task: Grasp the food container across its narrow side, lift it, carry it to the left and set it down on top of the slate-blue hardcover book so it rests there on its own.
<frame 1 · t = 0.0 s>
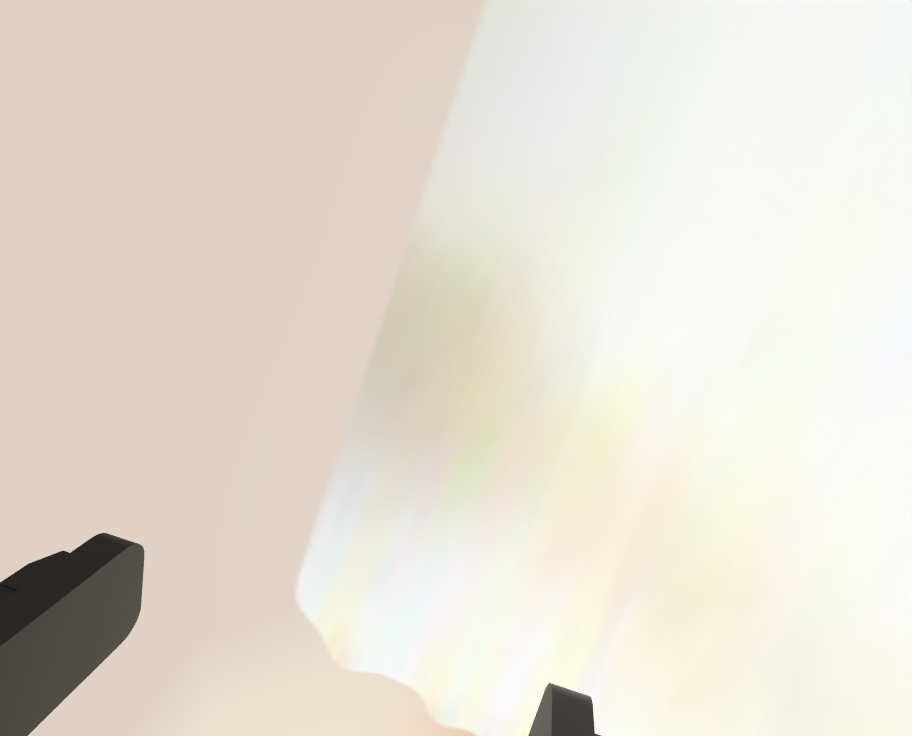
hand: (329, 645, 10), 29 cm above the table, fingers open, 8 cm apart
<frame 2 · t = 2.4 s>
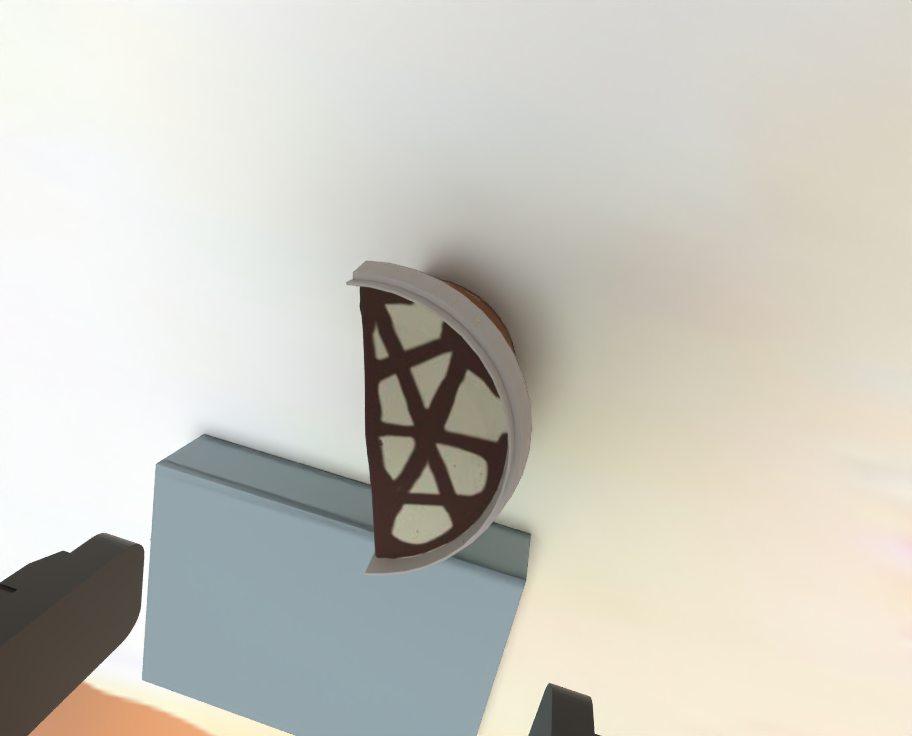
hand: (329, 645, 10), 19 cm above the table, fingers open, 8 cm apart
food container: (480, 367, 29), on the table
book: (341, 587, 34), on the table
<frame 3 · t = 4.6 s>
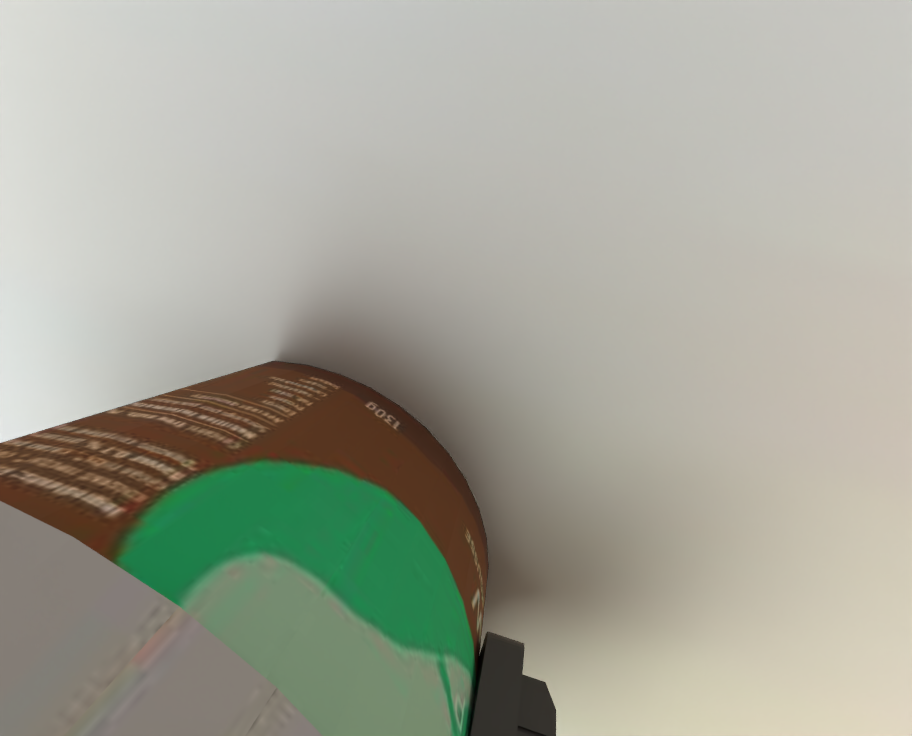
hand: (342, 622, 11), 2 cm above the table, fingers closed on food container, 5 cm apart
food container: (411, 551, 13), on the table, touching gripper
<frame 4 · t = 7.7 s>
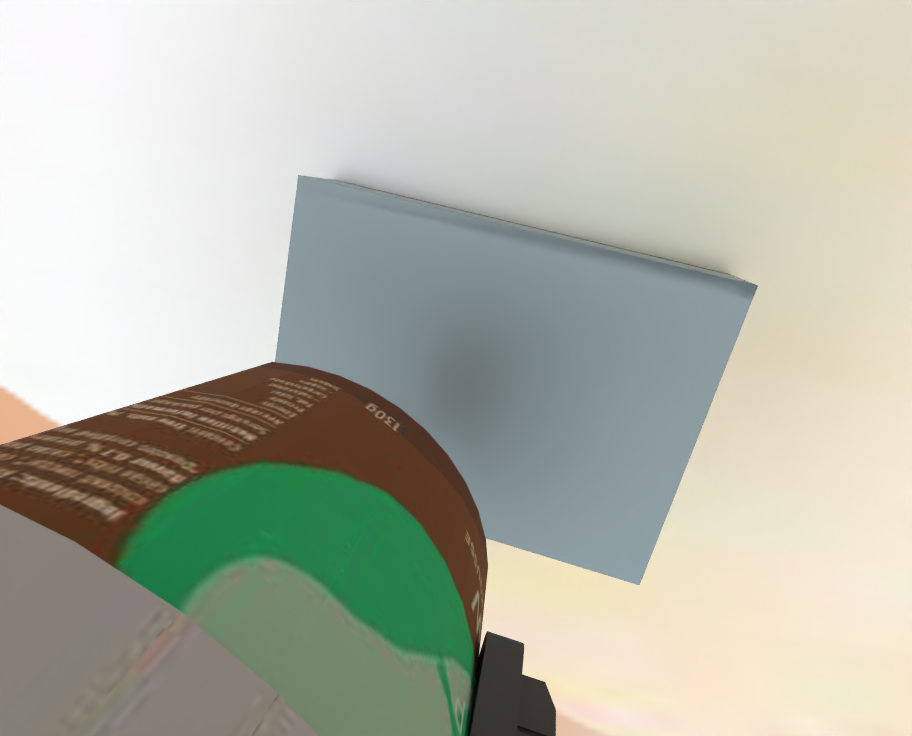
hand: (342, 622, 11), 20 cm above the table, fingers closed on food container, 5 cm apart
food container: (411, 553, 13), point 17 cm above the table, touching gripper
book: (488, 366, 30), on the table
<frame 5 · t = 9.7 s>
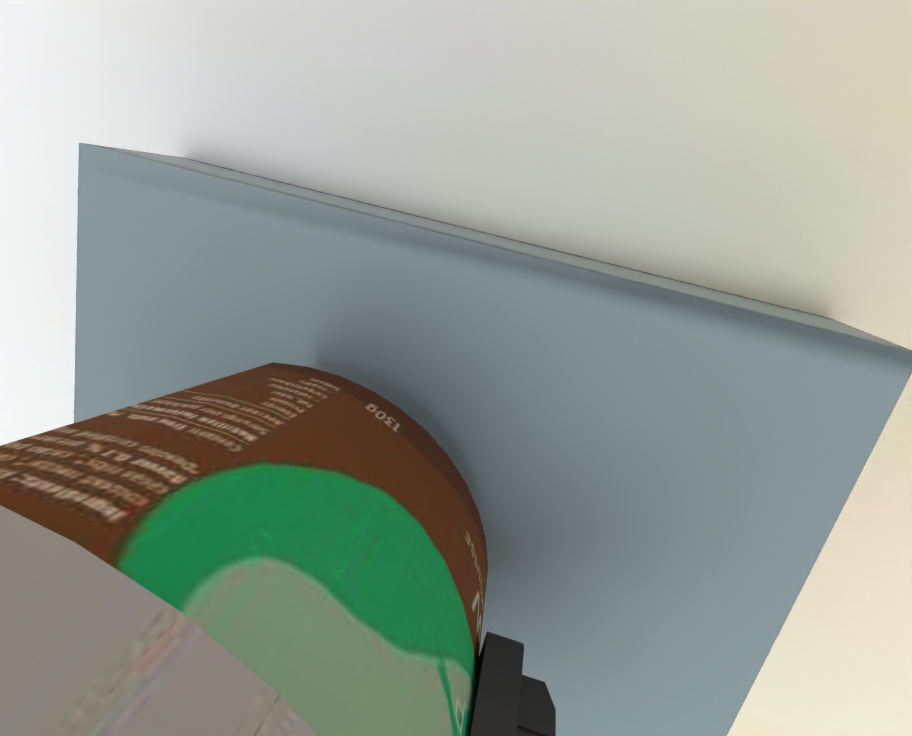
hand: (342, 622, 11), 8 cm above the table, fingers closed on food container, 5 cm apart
food container: (411, 553, 13), point 6 cm above the table, touching gripper
book: (434, 453, 19), on the table
when the fingers open (7 cm above the table, at t = 10.9 s): food container stays where it is, resting on book.
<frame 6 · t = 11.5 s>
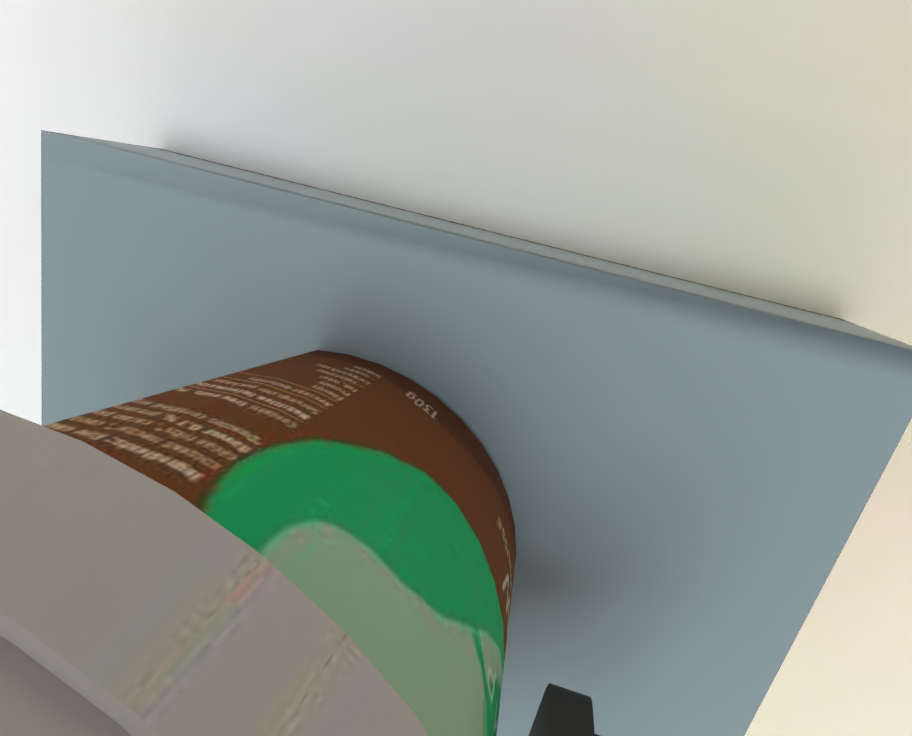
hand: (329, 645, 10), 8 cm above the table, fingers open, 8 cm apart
food container: (442, 537, 14), point 4 cm above the table, touching book, gripper
book: (424, 459, 18), on the table
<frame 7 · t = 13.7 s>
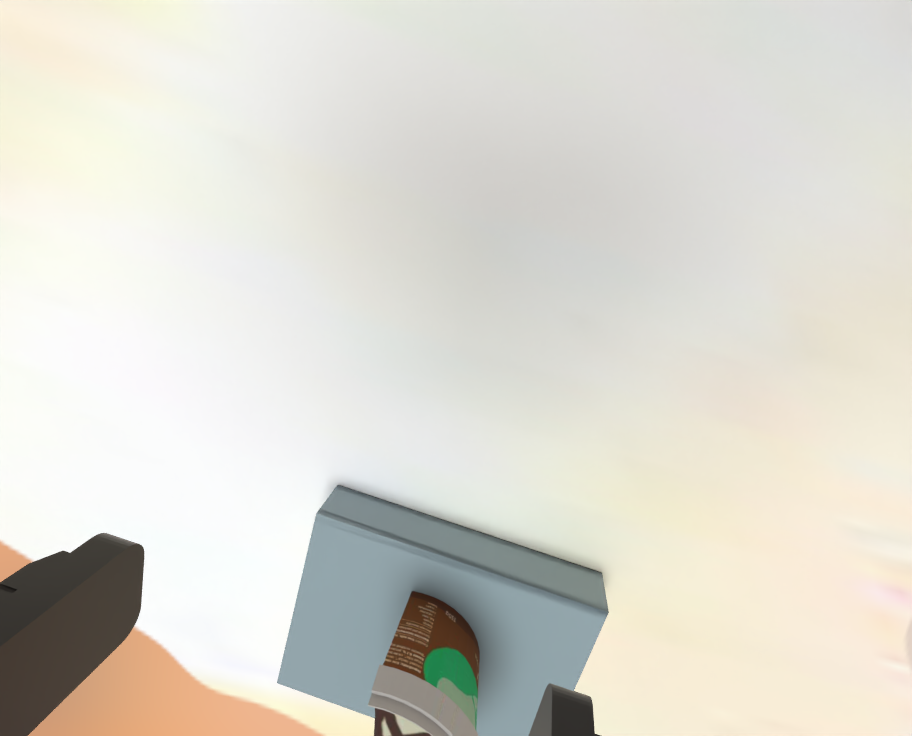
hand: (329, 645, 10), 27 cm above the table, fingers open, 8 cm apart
food container: (452, 652, 38), point 4 cm above the table, touching book
book: (440, 609, 42), on the table
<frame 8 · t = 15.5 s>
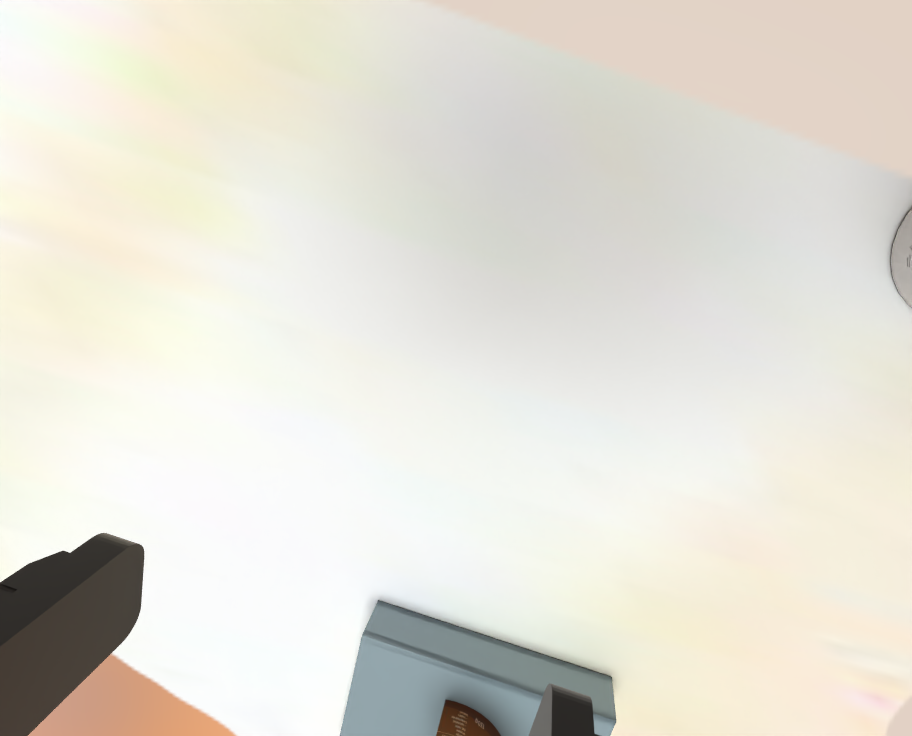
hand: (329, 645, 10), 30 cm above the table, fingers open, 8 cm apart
book: (471, 704, 48), on the table
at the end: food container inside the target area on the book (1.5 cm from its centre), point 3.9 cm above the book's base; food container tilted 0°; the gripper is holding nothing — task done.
